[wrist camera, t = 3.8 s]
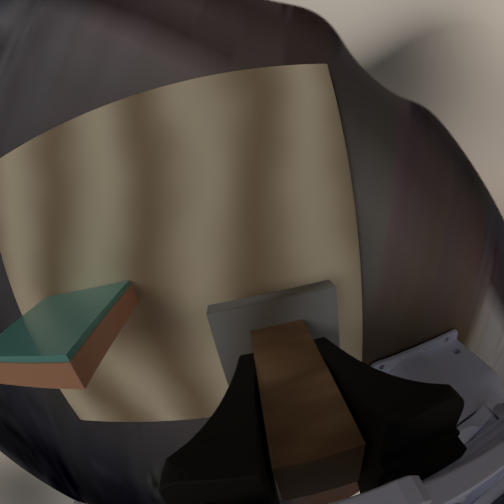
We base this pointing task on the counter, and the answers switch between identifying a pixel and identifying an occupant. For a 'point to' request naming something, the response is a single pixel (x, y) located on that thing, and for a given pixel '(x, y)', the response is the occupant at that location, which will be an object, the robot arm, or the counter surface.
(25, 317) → the tile
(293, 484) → the wooden post on base
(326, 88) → the board
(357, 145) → the counter surface
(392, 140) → the counter surface
